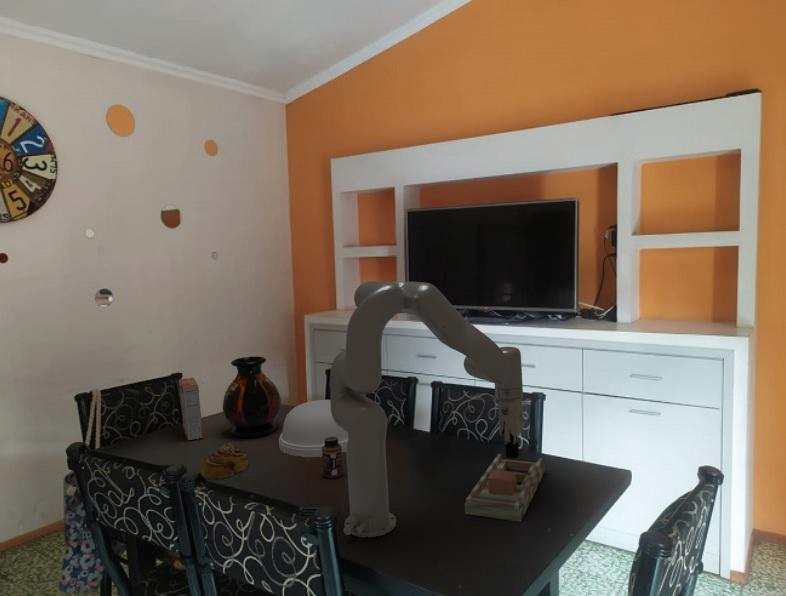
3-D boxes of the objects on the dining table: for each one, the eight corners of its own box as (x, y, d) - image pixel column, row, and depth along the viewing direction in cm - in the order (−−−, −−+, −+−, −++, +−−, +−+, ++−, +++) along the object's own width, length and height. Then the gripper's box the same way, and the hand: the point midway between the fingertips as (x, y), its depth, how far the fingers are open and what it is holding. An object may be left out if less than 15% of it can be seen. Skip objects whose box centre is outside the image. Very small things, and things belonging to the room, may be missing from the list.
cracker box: (182, 432, 228) (178, 379, 226) (199, 429, 231) (194, 376, 229) (186, 442, 215) (181, 386, 214) (203, 439, 218) (198, 383, 216)
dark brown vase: (224, 427, 230) (218, 357, 228) (279, 420, 237) (274, 351, 234) (225, 445, 210) (219, 368, 207) (286, 435, 216) (280, 361, 214)
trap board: (520, 521, 141) (520, 505, 141) (465, 513, 147) (464, 498, 147) (544, 471, 170) (544, 458, 170) (497, 466, 176) (496, 453, 176)
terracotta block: (511, 496, 150) (511, 480, 150) (488, 493, 153) (488, 478, 152) (516, 486, 155) (516, 472, 155) (494, 483, 158) (494, 469, 158)
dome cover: (262, 443, 211) (259, 404, 209) (331, 423, 230) (329, 388, 228) (309, 465, 186) (306, 422, 185) (383, 441, 205) (380, 402, 204)
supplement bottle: (340, 479, 173) (337, 442, 172) (320, 478, 175) (318, 441, 173) (345, 471, 179) (343, 435, 178) (327, 471, 180) (324, 435, 179)
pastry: (256, 463, 190) (254, 439, 190) (227, 482, 177) (224, 456, 176) (223, 460, 196) (221, 436, 195) (192, 477, 182) (189, 452, 181)
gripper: (516, 400, 153) (520, 468, 155) (528, 385, 166) (531, 448, 168) (488, 399, 156) (492, 466, 158) (502, 384, 169) (505, 446, 171)
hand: (512, 456), depth 163 cm, fingers closed
